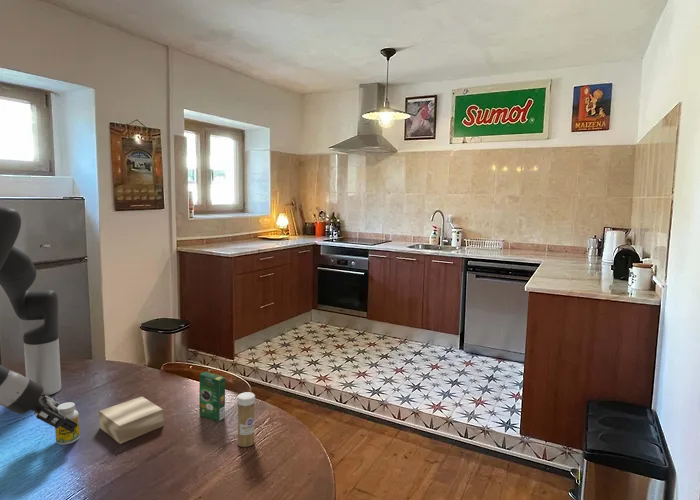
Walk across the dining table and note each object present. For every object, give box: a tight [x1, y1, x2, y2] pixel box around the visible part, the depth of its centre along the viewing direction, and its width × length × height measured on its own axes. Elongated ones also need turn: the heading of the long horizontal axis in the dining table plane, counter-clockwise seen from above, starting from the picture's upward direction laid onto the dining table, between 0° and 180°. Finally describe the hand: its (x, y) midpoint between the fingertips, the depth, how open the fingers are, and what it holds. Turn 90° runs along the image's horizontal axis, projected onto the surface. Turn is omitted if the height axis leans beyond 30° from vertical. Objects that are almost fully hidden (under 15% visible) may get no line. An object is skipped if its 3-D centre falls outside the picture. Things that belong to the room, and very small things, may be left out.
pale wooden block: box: [98, 395, 164, 445], centre depth 126 cm, size 12×12×5 cm
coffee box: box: [198, 371, 226, 423], centre depth 132 cm, size 8×3×13 cm, turn 63°
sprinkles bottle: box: [236, 391, 256, 448], centre depth 119 cm, size 5×5×14 cm
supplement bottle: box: [54, 401, 81, 446], centre depth 118 cm, size 5×5×10 cm
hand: (71, 421), depth 119 cm, fingers open, 8 cm apart
